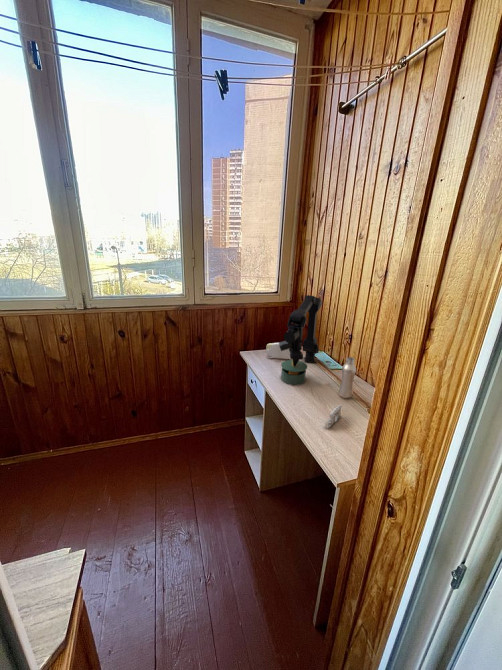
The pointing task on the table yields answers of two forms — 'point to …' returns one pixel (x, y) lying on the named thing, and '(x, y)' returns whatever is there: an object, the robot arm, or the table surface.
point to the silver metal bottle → (347, 378)
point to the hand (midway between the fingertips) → (294, 364)
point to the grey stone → (333, 416)
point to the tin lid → (298, 368)
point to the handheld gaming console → (276, 351)
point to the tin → (293, 377)
